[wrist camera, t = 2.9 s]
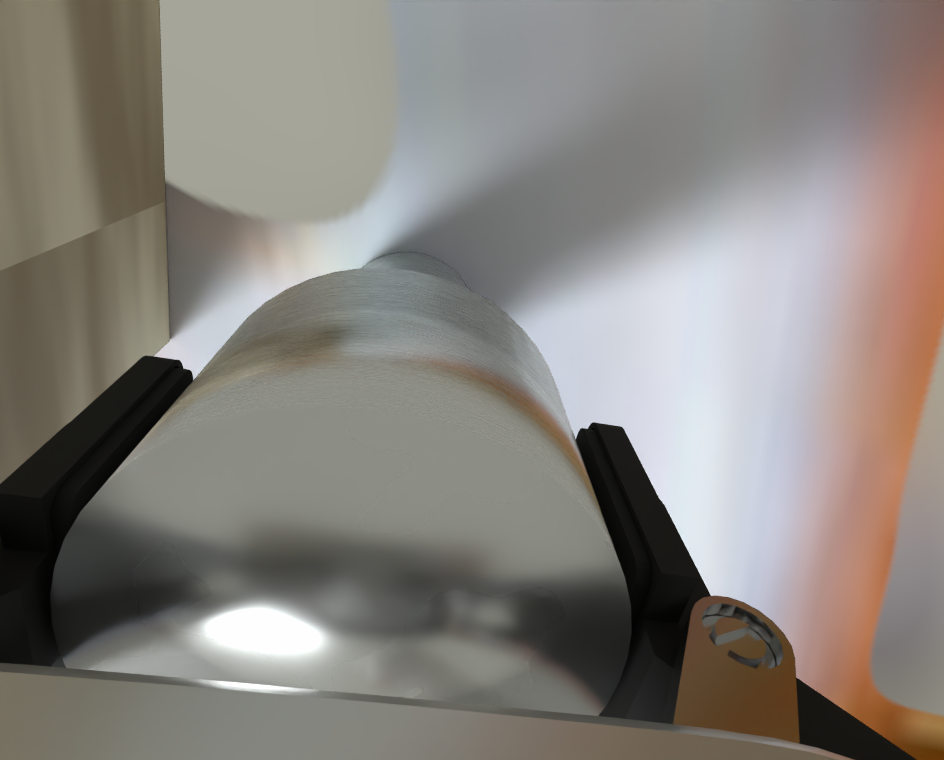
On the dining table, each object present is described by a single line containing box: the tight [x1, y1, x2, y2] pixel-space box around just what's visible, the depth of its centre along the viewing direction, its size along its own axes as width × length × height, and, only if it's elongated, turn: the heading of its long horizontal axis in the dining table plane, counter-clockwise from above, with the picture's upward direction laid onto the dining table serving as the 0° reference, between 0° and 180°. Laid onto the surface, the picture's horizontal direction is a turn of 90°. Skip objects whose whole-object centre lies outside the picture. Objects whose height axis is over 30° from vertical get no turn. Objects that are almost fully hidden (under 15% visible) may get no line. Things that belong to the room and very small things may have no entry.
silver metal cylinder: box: [50, 252, 632, 716], centre depth 13 cm, size 7×7×12 cm
